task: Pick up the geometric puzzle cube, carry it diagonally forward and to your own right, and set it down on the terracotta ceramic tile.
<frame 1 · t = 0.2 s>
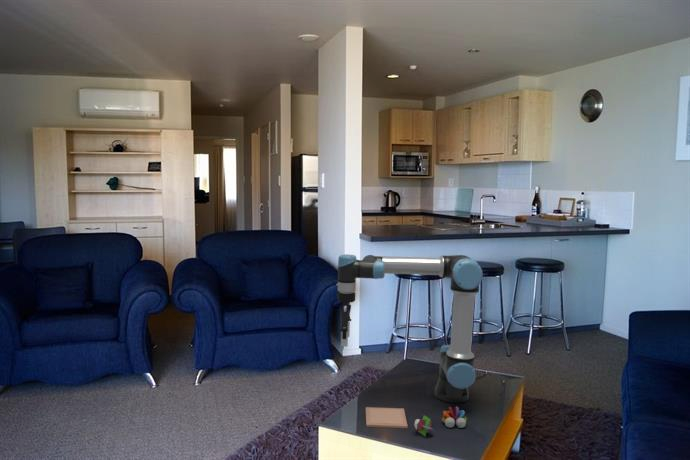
hand: (345, 341, 225), 28 cm above the table, fingers open, 13 cm apart
tile: (385, 418, 215), on the table
colourful small pieces: (454, 424, 212), on the table
geometric puzzle: (424, 434, 203), on the table
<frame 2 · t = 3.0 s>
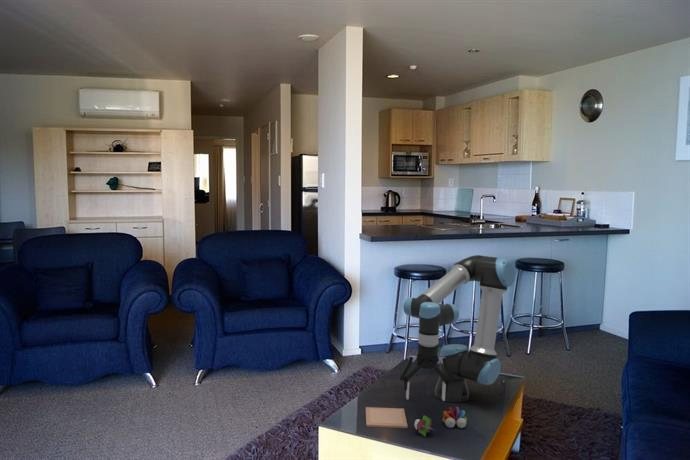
hand: (425, 398, 202), 14 cm above the table, fingers open, 13 cm apart
nothing on the table moved.
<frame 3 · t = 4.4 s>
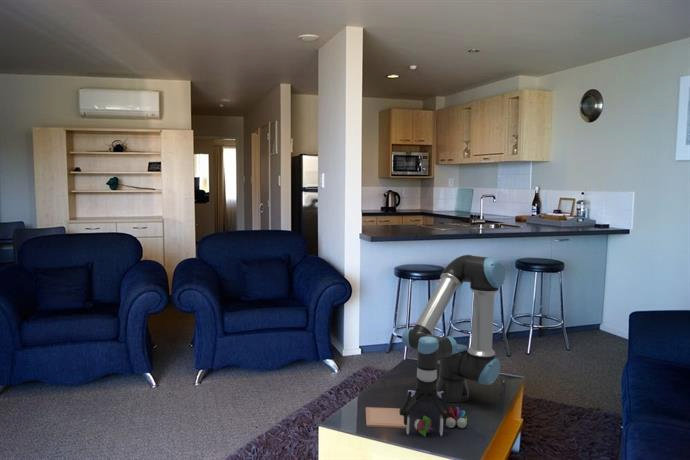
hand: (424, 433, 203), 0 cm above the table, fingers open, 12 cm apart
nothing on the table moved.
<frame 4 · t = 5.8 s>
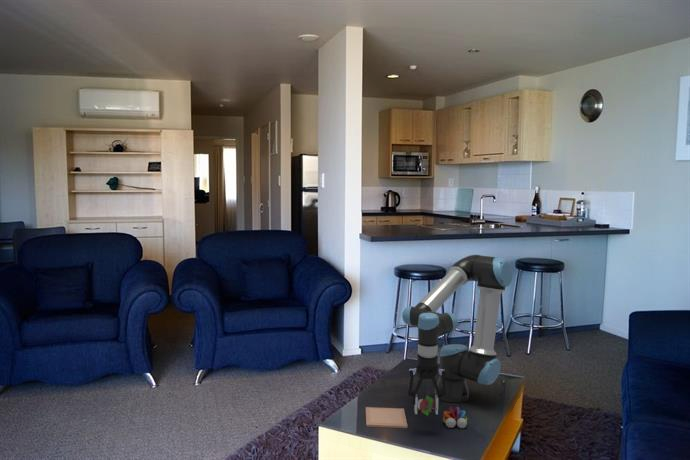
hand: (426, 412, 203), 8 cm above the table, fingers closed on geometric puzzle, 7 cm apart
geometric puzzle: (427, 414, 203), point 8 cm above the table, touching gripper
everything else where it was.
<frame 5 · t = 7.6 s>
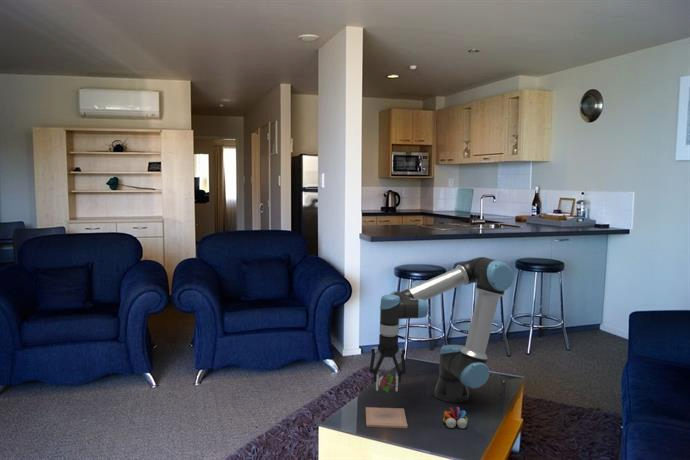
hand: (386, 389, 214), 12 cm above the table, fingers closed on geometric puzzle, 7 cm apart
geometric puzzle: (387, 391, 214), point 12 cm above the table, touching gripper
everything else where it was.
when the fingers open (1 cm above the table, at t = 9.8 s): geometric puzzle stays where it is, resting on tile.
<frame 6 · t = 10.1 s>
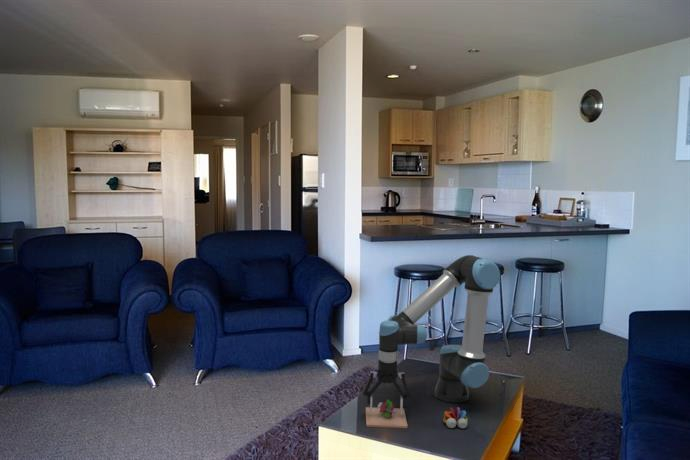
hand: (385, 412, 215), 2 cm above the table, fingers open, 11 cm apart
geometric puzzle: (386, 416, 215), point 1 cm above the table, touching tile
everything else where it was.
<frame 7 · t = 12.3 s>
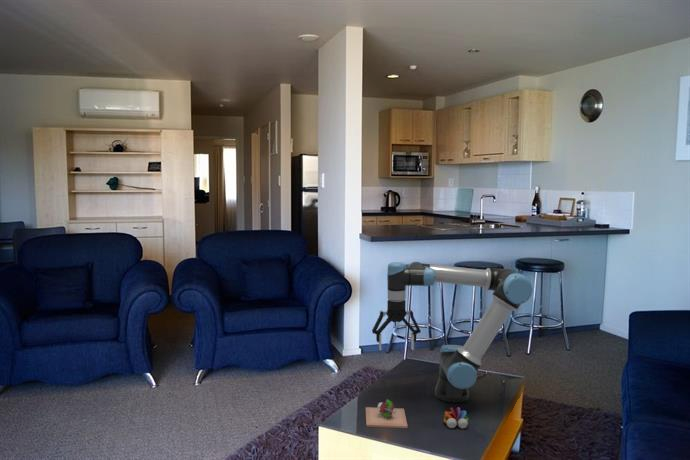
hand: (396, 349, 224), 25 cm above the table, fingers open, 13 cm apart
nothing on the table moved.
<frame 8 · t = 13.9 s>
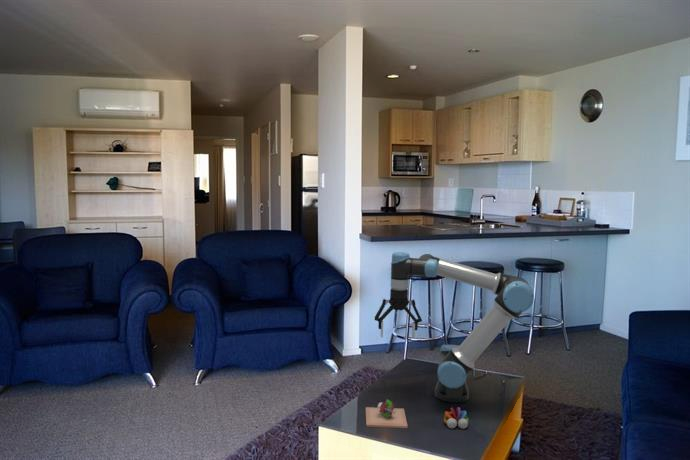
hand: (397, 337, 230), 29 cm above the table, fingers open, 13 cm apart
nothing on the table moved.
at the end: geometric puzzle inside the target area on the tile (0.4 cm from its centre), point 0.7 cm above the tile's base; geometric puzzle tilted 1°; the gripper is holding nothing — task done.
